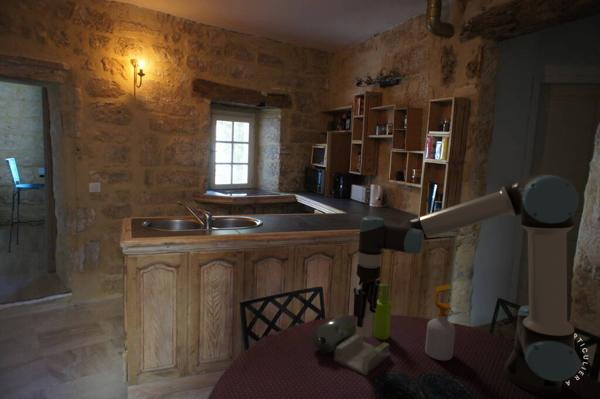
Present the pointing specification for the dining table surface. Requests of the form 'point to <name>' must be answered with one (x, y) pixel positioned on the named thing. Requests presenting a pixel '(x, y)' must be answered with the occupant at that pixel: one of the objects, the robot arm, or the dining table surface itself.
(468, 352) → the dining table surface
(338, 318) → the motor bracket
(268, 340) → the dining table surface
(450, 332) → the soap bottle
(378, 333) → the soap dispenser
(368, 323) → the eye dropper bottle
